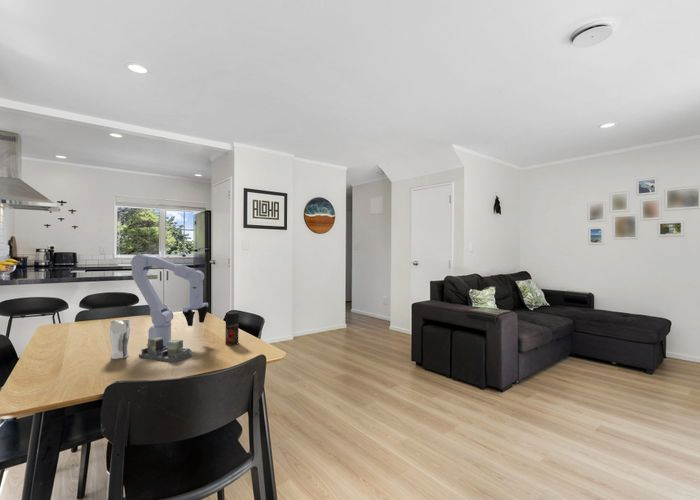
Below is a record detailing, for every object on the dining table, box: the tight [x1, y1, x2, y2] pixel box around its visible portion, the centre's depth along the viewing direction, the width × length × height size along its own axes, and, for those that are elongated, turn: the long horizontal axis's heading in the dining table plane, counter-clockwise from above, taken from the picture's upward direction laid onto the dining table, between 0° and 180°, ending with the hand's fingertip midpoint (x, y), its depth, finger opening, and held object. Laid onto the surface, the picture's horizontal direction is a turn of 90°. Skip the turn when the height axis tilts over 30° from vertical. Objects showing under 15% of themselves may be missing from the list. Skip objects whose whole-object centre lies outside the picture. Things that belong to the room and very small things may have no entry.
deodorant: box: [224, 311, 240, 346], centre depth 167 cm, size 6×6×15 cm
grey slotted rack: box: [138, 337, 193, 363], centre depth 146 cm, size 19×9×7 cm, turn 73°
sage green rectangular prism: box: [167, 338, 184, 357], centre depth 144 cm, size 4×4×6 cm
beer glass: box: [109, 319, 131, 360], centre depth 144 cm, size 7×7×15 cm
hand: (195, 324), depth 166 cm, fingers open, 7 cm apart
